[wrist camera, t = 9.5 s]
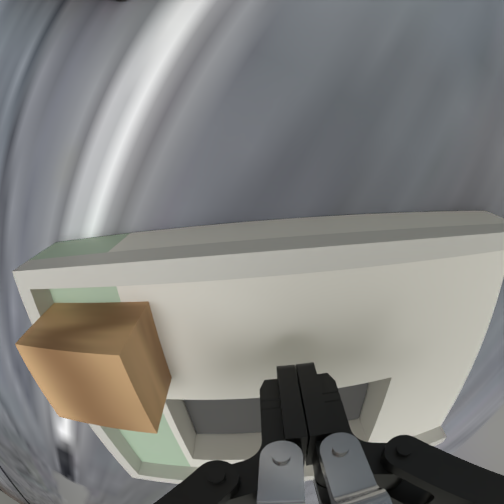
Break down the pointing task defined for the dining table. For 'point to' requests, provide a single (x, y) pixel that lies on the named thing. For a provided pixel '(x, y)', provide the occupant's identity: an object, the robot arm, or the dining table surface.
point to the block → (100, 363)
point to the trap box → (289, 321)
